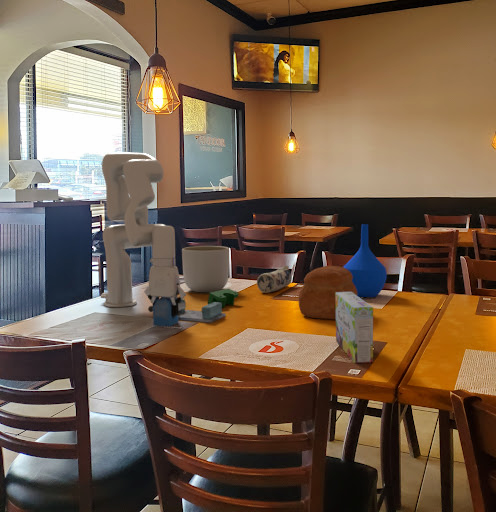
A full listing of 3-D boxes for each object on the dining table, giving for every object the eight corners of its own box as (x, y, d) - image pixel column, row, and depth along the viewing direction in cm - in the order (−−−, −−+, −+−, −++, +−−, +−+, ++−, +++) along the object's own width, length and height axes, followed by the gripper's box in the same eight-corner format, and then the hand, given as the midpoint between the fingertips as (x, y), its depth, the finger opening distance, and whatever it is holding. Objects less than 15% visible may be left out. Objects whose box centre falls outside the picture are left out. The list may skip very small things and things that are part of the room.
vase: (392, 294, 238) (393, 223, 234) (377, 301, 222) (378, 226, 219) (351, 290, 248) (352, 222, 244) (334, 297, 232) (335, 225, 229)
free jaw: (147, 313, 201) (146, 302, 201) (161, 308, 210) (161, 297, 209) (172, 315, 197) (172, 304, 196) (186, 310, 206) (185, 299, 205)
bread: (295, 317, 198) (295, 270, 196) (315, 305, 217) (315, 262, 215) (343, 322, 190) (343, 273, 188) (360, 309, 209) (360, 264, 207)
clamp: (220, 319, 215) (217, 300, 210) (209, 313, 218) (206, 295, 213) (241, 303, 222) (238, 284, 217) (230, 297, 226) (227, 279, 221)
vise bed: (161, 318, 198) (160, 304, 198) (177, 311, 208) (176, 298, 208) (211, 322, 190) (211, 308, 190) (225, 316, 200) (225, 302, 200)
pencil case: (276, 285, 262) (276, 264, 261) (293, 286, 259) (293, 265, 257) (255, 293, 243) (255, 271, 242) (273, 295, 239) (273, 272, 238)
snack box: (333, 341, 166) (334, 291, 164) (352, 341, 166) (353, 291, 165) (353, 364, 145) (354, 306, 143) (374, 363, 146) (375, 306, 144)
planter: (228, 294, 241) (227, 250, 238) (180, 295, 241) (179, 251, 239) (230, 286, 261) (230, 245, 259) (186, 286, 262) (185, 246, 259)
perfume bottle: (178, 322, 192) (177, 287, 191) (169, 326, 186) (168, 290, 185) (162, 321, 194) (161, 286, 193) (153, 325, 188) (152, 290, 187)
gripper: (135, 263, 188) (137, 315, 190) (180, 265, 181) (182, 319, 183) (148, 260, 194) (150, 311, 197) (192, 262, 188) (193, 314, 190)
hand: (165, 314), depth 190 cm, fingers closed on perfume bottle, 6 cm apart
